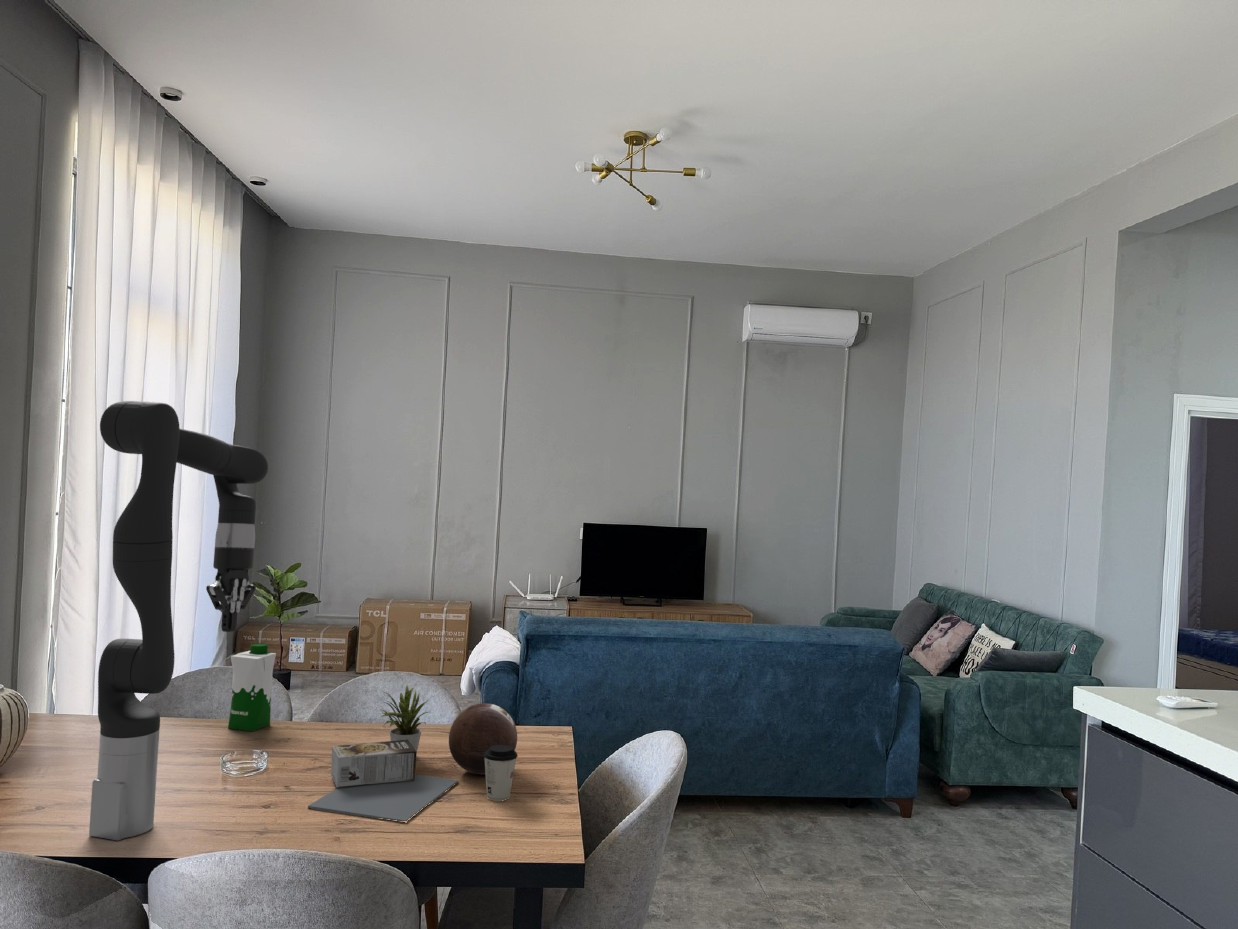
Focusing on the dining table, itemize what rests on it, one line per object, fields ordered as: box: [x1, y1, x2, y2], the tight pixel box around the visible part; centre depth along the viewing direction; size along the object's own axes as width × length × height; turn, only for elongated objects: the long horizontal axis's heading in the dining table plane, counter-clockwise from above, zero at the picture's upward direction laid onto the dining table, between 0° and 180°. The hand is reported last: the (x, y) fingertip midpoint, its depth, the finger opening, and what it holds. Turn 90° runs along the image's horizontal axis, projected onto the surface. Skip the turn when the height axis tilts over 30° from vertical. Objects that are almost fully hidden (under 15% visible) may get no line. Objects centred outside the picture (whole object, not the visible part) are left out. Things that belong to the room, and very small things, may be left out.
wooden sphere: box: [448, 702, 518, 775], centre depth 196 cm, size 15×15×15 cm
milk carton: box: [227, 642, 277, 732], centre depth 221 cm, size 9×9×20 cm
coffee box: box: [330, 739, 418, 788], centre depth 187 cm, size 9×6×16 cm
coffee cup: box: [484, 745, 518, 802], centre depth 181 cm, size 7×7×10 cm
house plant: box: [376, 685, 433, 752], centre depth 204 cm, size 14×14×16 cm
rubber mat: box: [307, 773, 459, 821], centre depth 179 cm, size 24×20×1 cm
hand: (228, 631), depth 180 cm, fingers closed
